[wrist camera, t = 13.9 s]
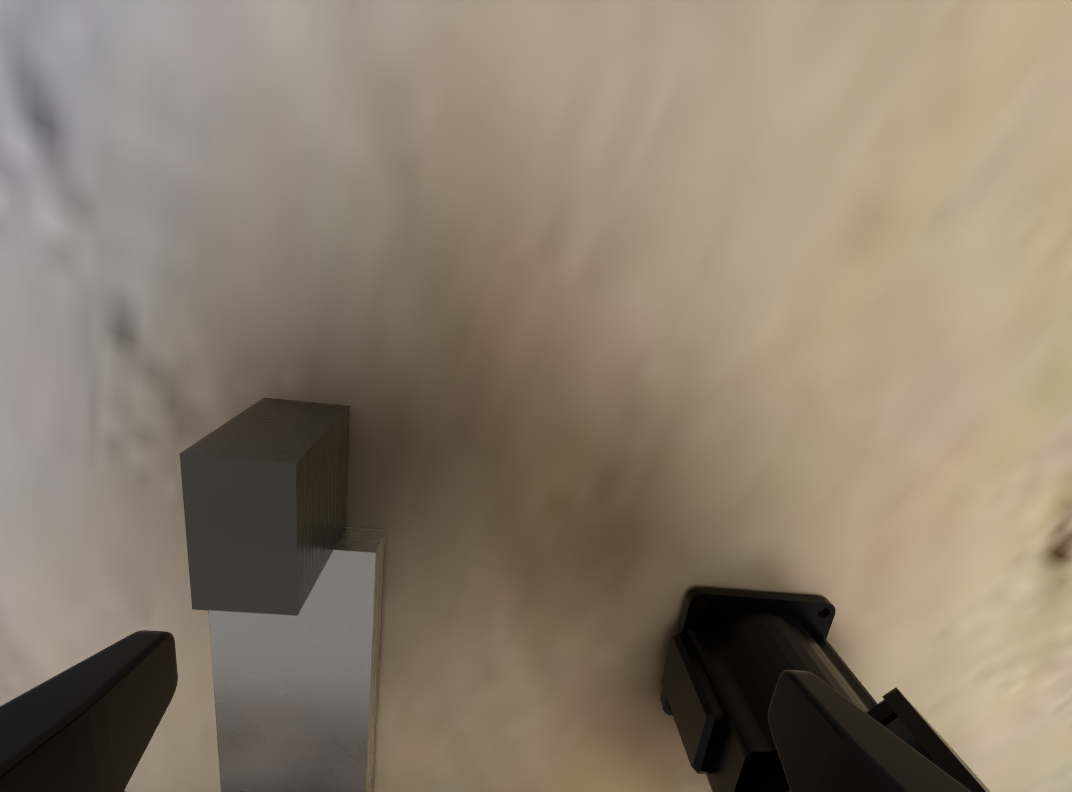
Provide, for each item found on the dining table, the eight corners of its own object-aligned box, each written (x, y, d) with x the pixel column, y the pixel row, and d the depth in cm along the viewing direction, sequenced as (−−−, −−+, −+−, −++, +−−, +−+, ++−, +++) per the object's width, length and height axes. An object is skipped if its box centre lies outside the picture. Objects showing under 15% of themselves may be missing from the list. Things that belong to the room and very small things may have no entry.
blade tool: (390, 410, 19) (352, 468, 14) (370, 846, 25) (339, 987, 21) (220, 393, 18) (119, 448, 13) (244, 843, 25) (182, 987, 20)
